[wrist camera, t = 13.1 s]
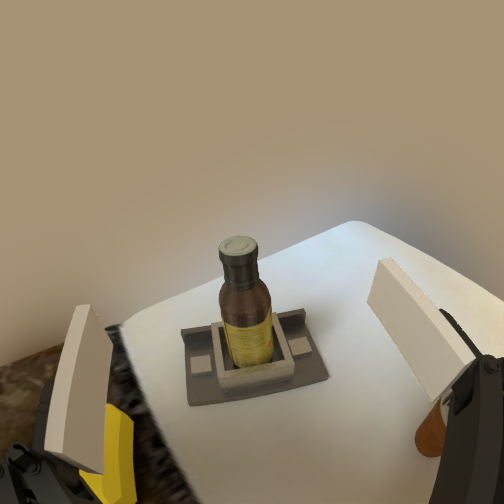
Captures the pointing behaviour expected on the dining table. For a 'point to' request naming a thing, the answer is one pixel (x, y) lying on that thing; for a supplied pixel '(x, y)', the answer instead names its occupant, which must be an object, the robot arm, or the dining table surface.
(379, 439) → the dining table surface
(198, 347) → the bottle holder
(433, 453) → the disposable coffee cup
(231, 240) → the sauce bottle
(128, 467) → the hot dog
